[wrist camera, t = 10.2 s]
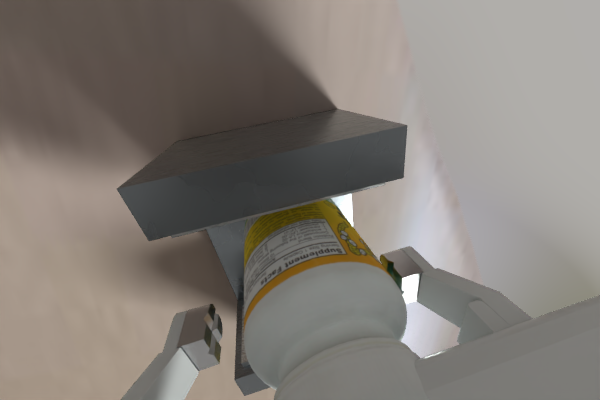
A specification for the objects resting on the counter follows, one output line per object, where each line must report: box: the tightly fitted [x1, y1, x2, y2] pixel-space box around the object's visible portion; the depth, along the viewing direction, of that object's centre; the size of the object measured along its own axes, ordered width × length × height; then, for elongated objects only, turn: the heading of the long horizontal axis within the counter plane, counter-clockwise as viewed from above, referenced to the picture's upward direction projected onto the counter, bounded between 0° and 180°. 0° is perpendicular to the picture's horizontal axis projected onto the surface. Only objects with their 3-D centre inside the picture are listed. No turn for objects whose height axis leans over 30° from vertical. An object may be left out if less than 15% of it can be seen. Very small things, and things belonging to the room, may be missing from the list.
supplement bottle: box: [244, 198, 429, 400], centre depth 10 cm, size 6×6×11 cm
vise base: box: [117, 109, 407, 300], centre depth 15 cm, size 20×10×7 cm, turn 9°
